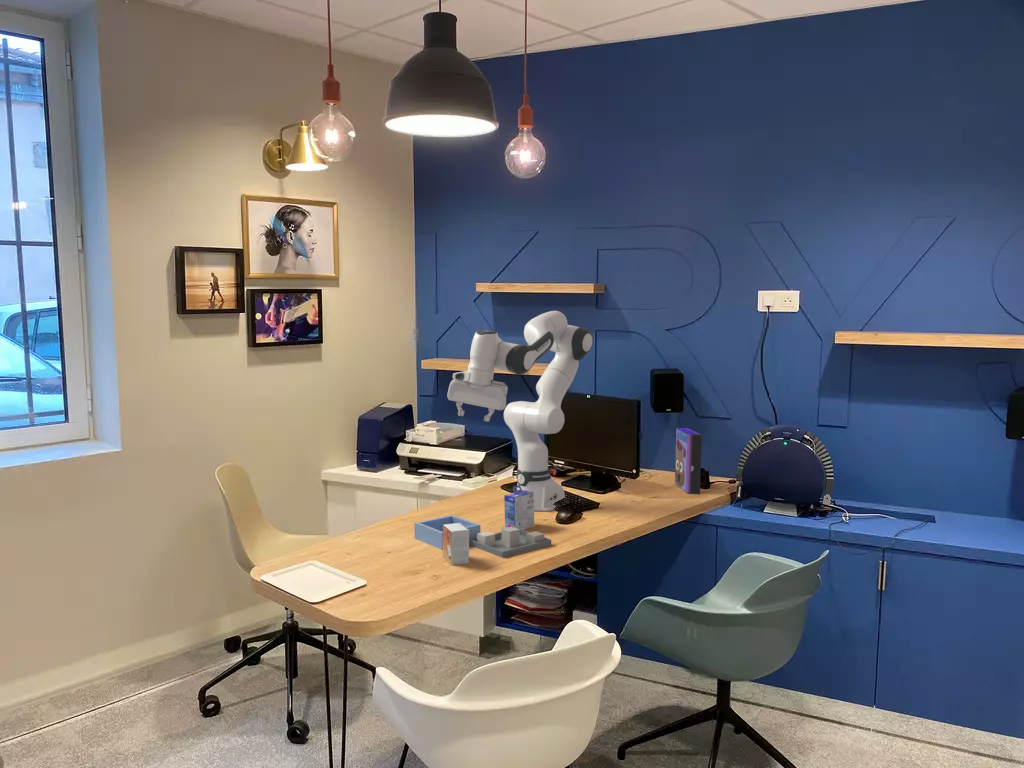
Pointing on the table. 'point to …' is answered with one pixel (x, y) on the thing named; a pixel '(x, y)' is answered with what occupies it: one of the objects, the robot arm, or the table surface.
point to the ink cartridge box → (519, 509)
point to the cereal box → (688, 460)
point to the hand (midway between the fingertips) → (473, 418)
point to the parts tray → (508, 551)
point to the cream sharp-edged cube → (486, 538)
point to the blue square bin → (433, 529)
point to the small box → (455, 544)
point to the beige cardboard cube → (510, 537)
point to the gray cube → (534, 537)
